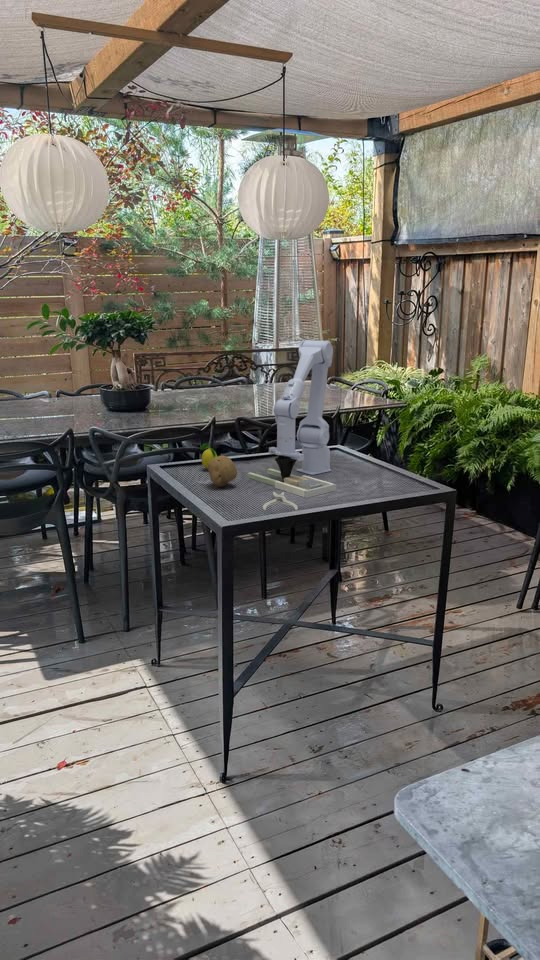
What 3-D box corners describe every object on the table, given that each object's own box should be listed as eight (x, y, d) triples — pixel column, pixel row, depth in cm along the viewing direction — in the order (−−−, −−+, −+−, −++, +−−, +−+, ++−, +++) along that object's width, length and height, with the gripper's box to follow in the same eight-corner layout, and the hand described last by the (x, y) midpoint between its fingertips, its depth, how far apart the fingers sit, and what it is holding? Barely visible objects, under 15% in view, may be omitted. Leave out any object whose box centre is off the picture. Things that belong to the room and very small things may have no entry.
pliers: (262, 506, 196) (262, 491, 211) (262, 511, 196) (261, 496, 211) (298, 506, 196) (294, 491, 211) (298, 511, 197) (294, 496, 211)
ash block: (295, 484, 224) (295, 475, 223) (308, 488, 220) (308, 479, 219) (283, 487, 221) (284, 478, 220) (296, 491, 217) (296, 481, 216)
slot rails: (270, 472, 238) (270, 468, 237) (300, 481, 227) (300, 477, 226) (247, 477, 232) (247, 473, 231) (276, 486, 221) (276, 482, 220)
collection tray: (304, 481, 227) (304, 475, 227) (335, 490, 216) (336, 484, 216) (274, 487, 219) (274, 481, 219) (306, 497, 209) (306, 491, 208)
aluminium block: (309, 488, 220) (309, 479, 219) (322, 492, 216) (323, 483, 215) (297, 491, 217) (297, 481, 216) (310, 495, 212) (311, 485, 212)
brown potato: (237, 482, 225) (237, 452, 222) (236, 490, 216) (236, 459, 214) (209, 483, 225) (208, 452, 222) (207, 490, 216) (206, 459, 214)
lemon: (200, 468, 244) (200, 439, 241) (217, 467, 244) (217, 439, 242) (200, 472, 237) (200, 443, 235) (218, 472, 238) (217, 443, 235)
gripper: (261, 435, 224) (261, 476, 227) (292, 442, 213) (291, 485, 217) (278, 432, 228) (278, 473, 232) (309, 439, 217) (308, 481, 221)
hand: (285, 479), depth 224 cm, fingers closed
